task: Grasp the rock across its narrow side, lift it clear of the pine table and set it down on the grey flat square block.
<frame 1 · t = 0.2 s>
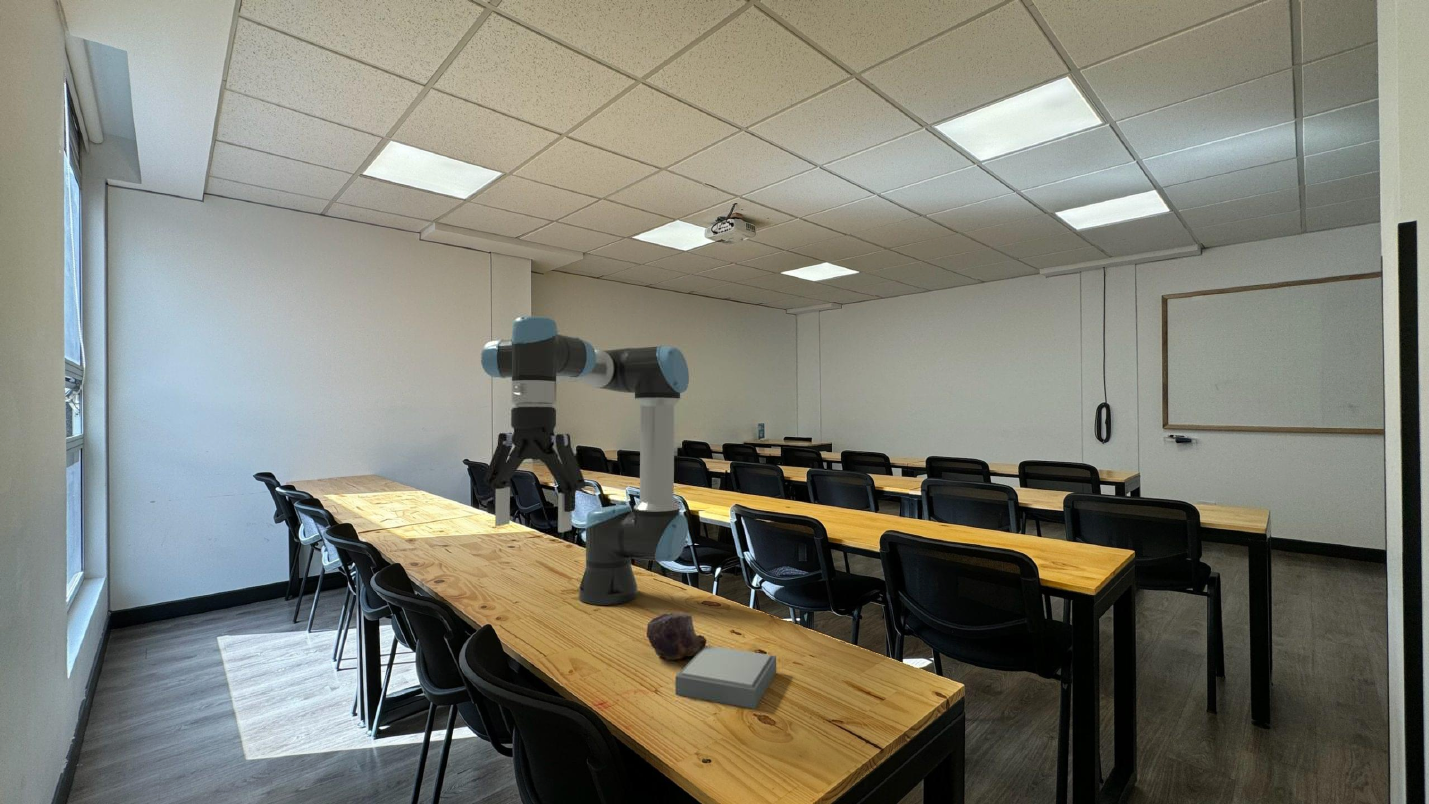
hand: (532, 527, 100), 28 cm above the table, fingers open, 13 cm apart
rock: (672, 657, 113), on the table
grey flat square block: (727, 682, 102), on the table
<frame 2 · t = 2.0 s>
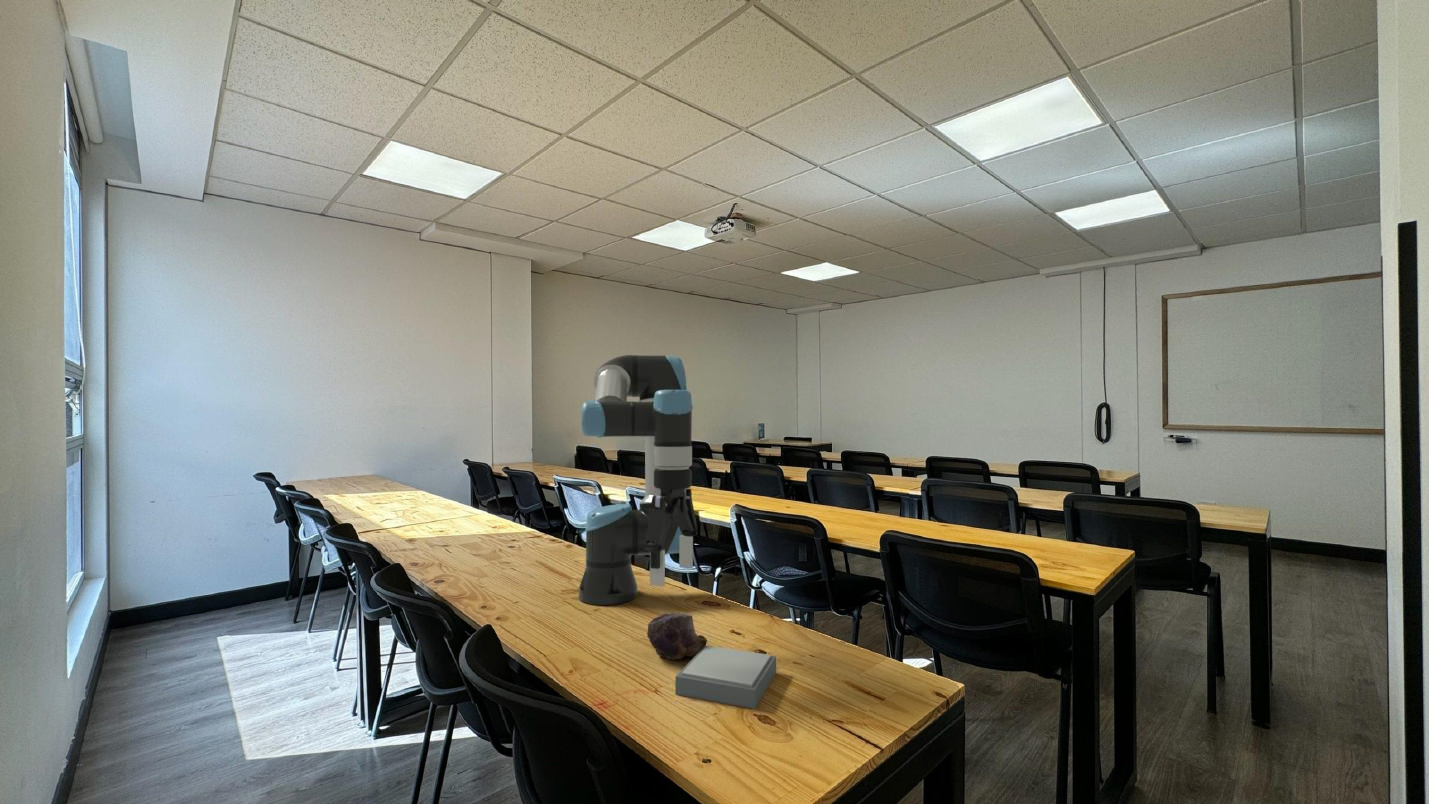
hand: (672, 576, 113), 16 cm above the table, fingers open, 13 cm apart
nothing on the table moved.
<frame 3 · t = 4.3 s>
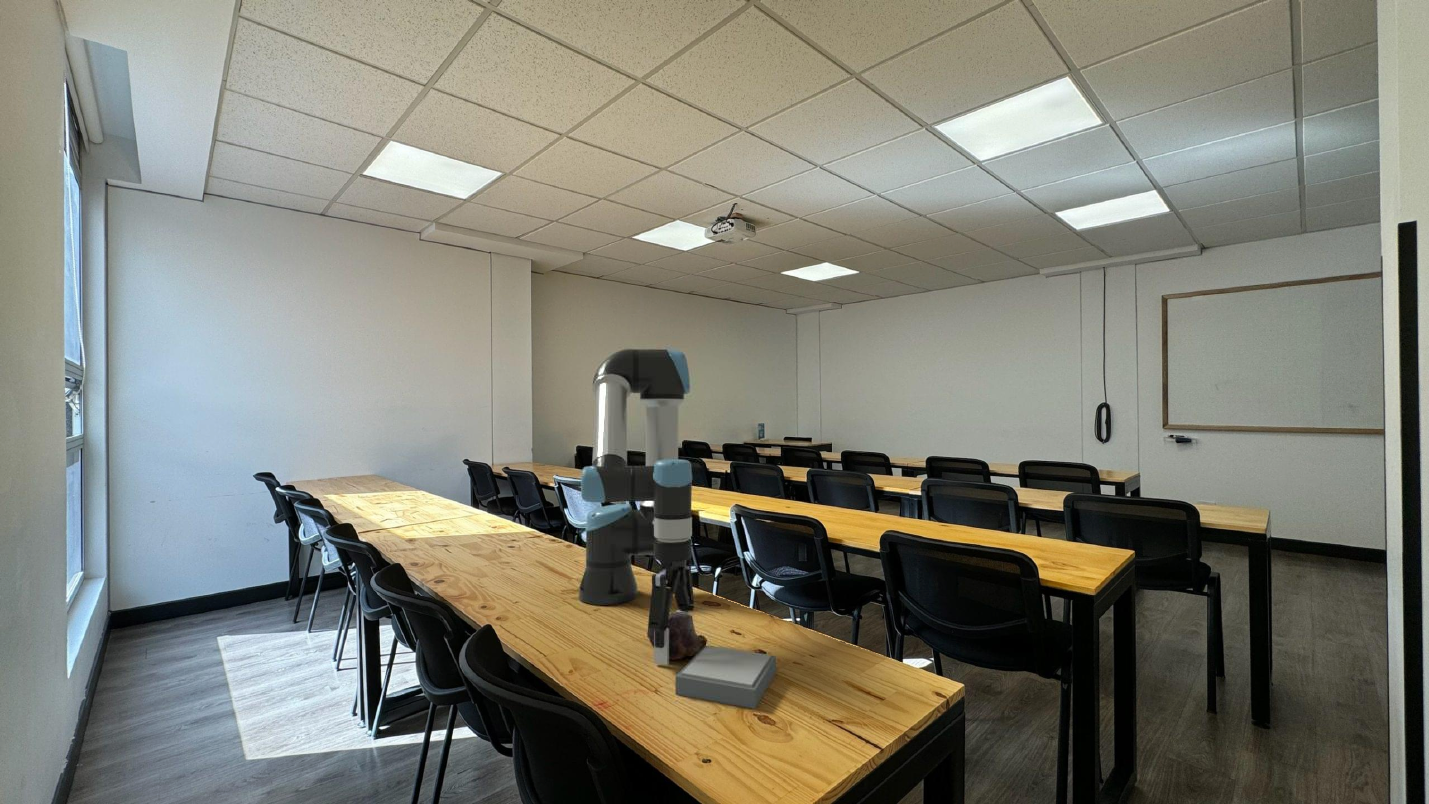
hand: (672, 652, 113), 1 cm above the table, fingers closed on rock, 9 cm apart
rock: (672, 657, 113), on the table, touching gripper
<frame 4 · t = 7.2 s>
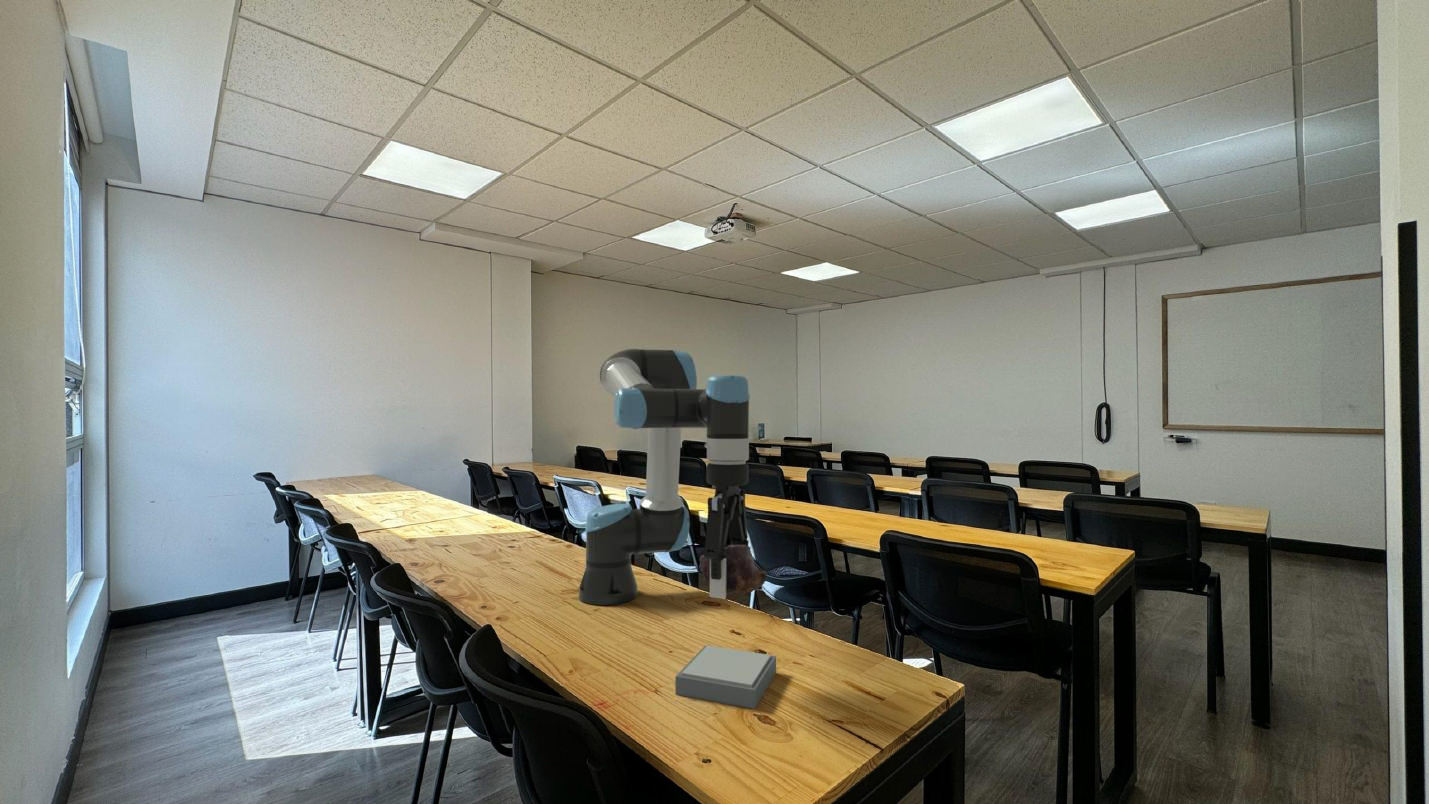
hand: (727, 588, 102), 17 cm above the table, fingers closed on rock, 9 cm apart
rock: (727, 593, 102), point 16 cm above the table, touching gripper
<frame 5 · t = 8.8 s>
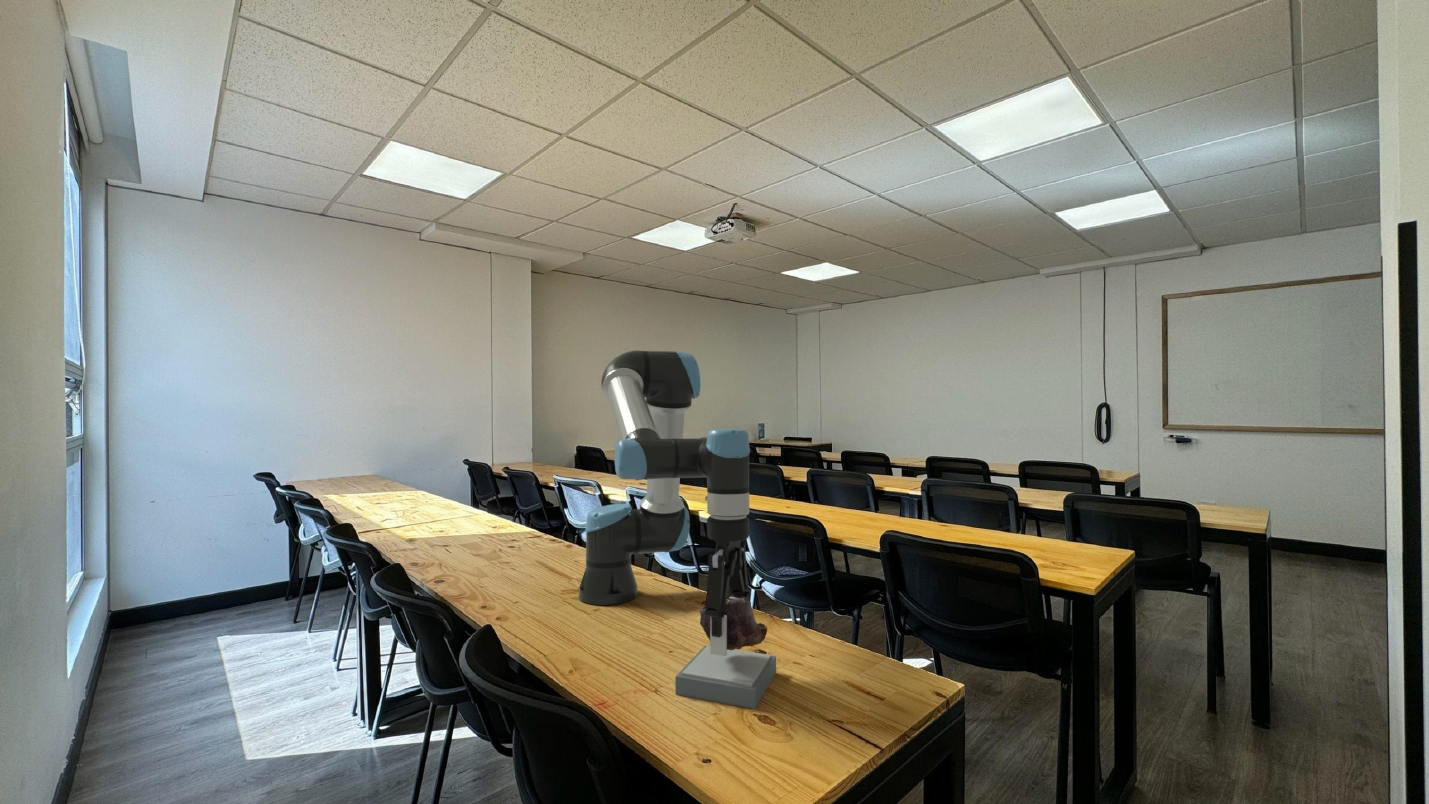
hand: (728, 643, 102), 7 cm above the table, fingers closed on rock, 9 cm apart
rock: (728, 647, 101), point 6 cm above the table, touching gripper
when the fingers open (5 cm above the table, at t = 10.1 s): rock drops 1 cm, resting on grey flat square block.
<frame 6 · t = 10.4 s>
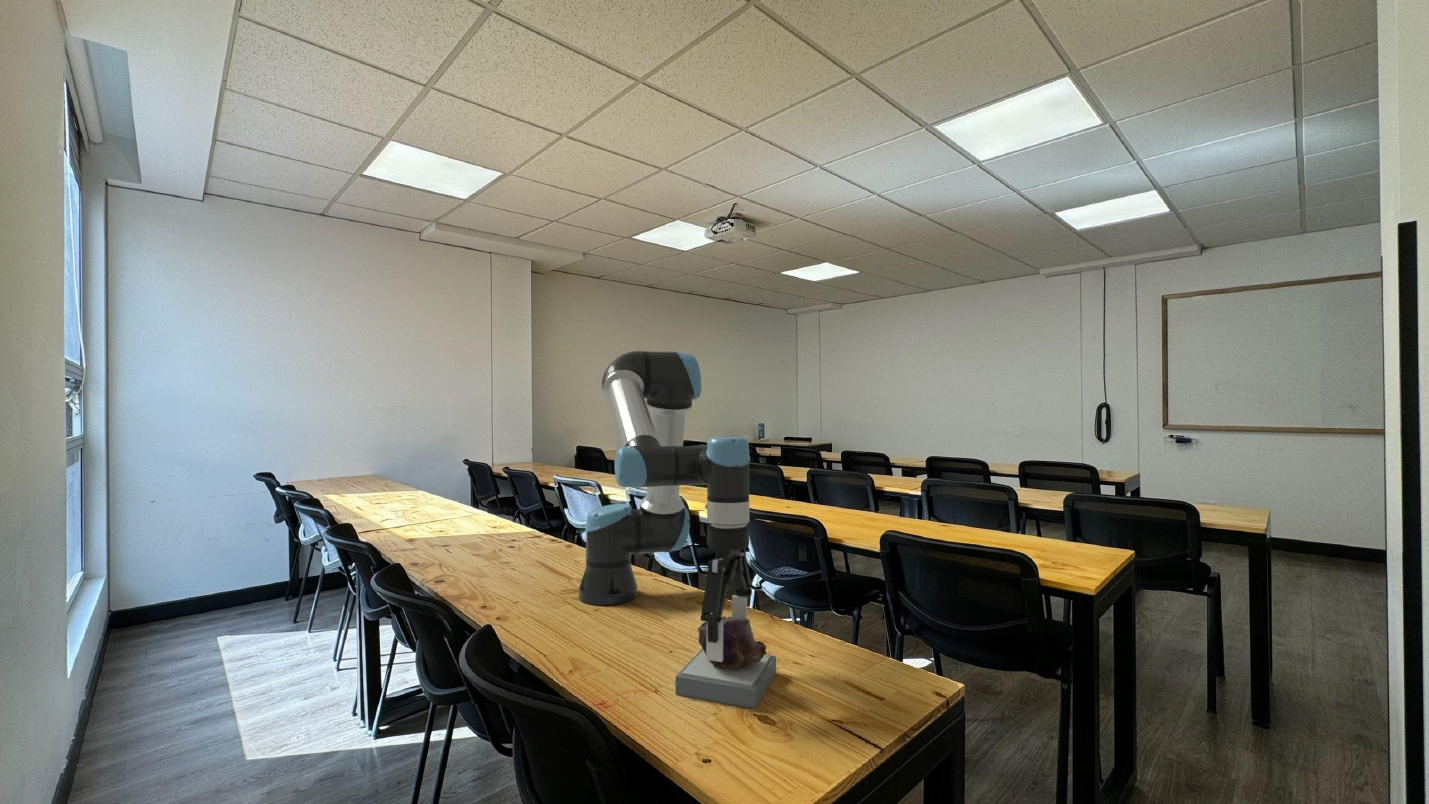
hand: (727, 645, 102), 7 cm above the table, fingers open, 13 cm apart
rock: (727, 665, 101), point 3 cm above the table, touching grey flat square block
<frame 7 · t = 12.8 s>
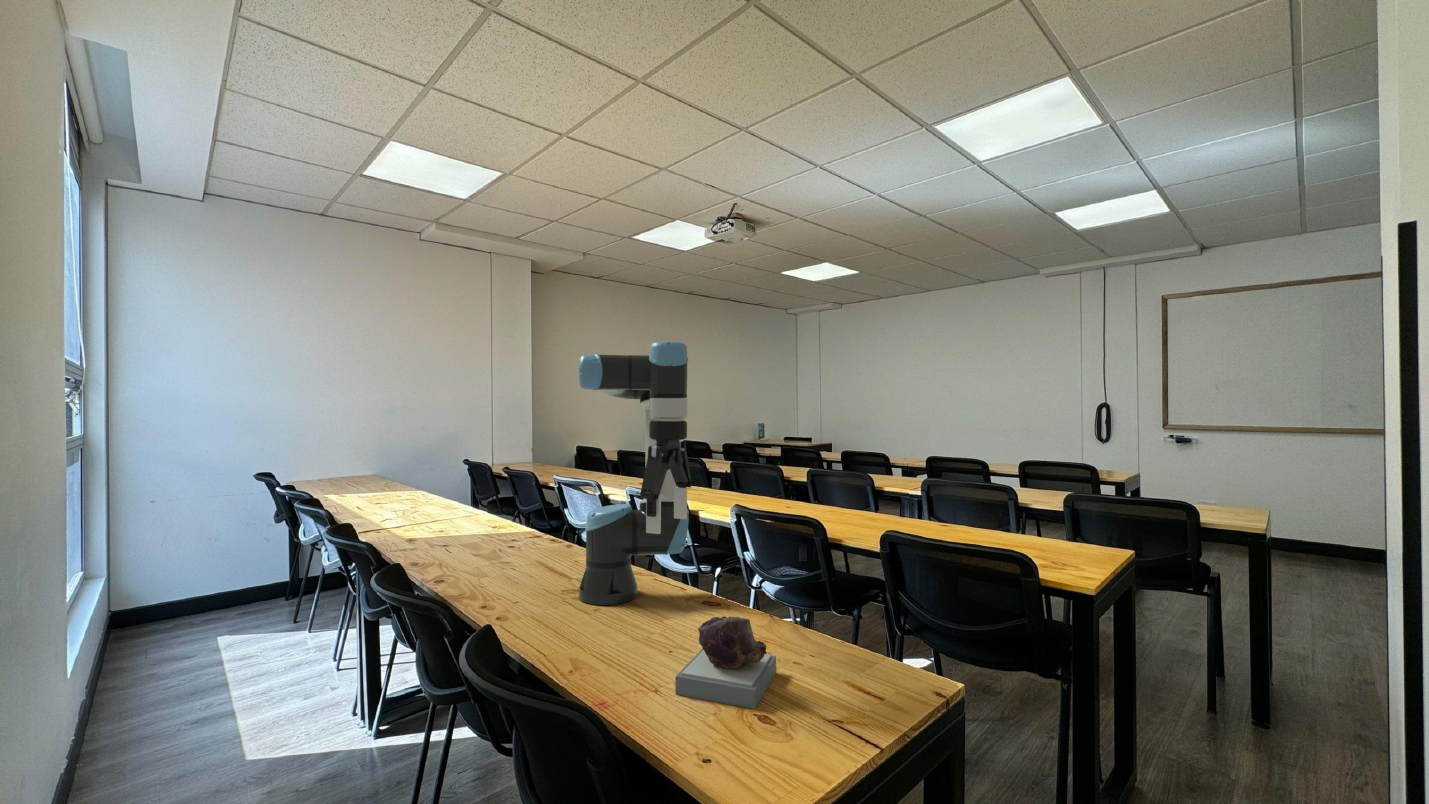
hand: (667, 525, 115), 25 cm above the table, fingers open, 13 cm apart
nothing on the table moved.
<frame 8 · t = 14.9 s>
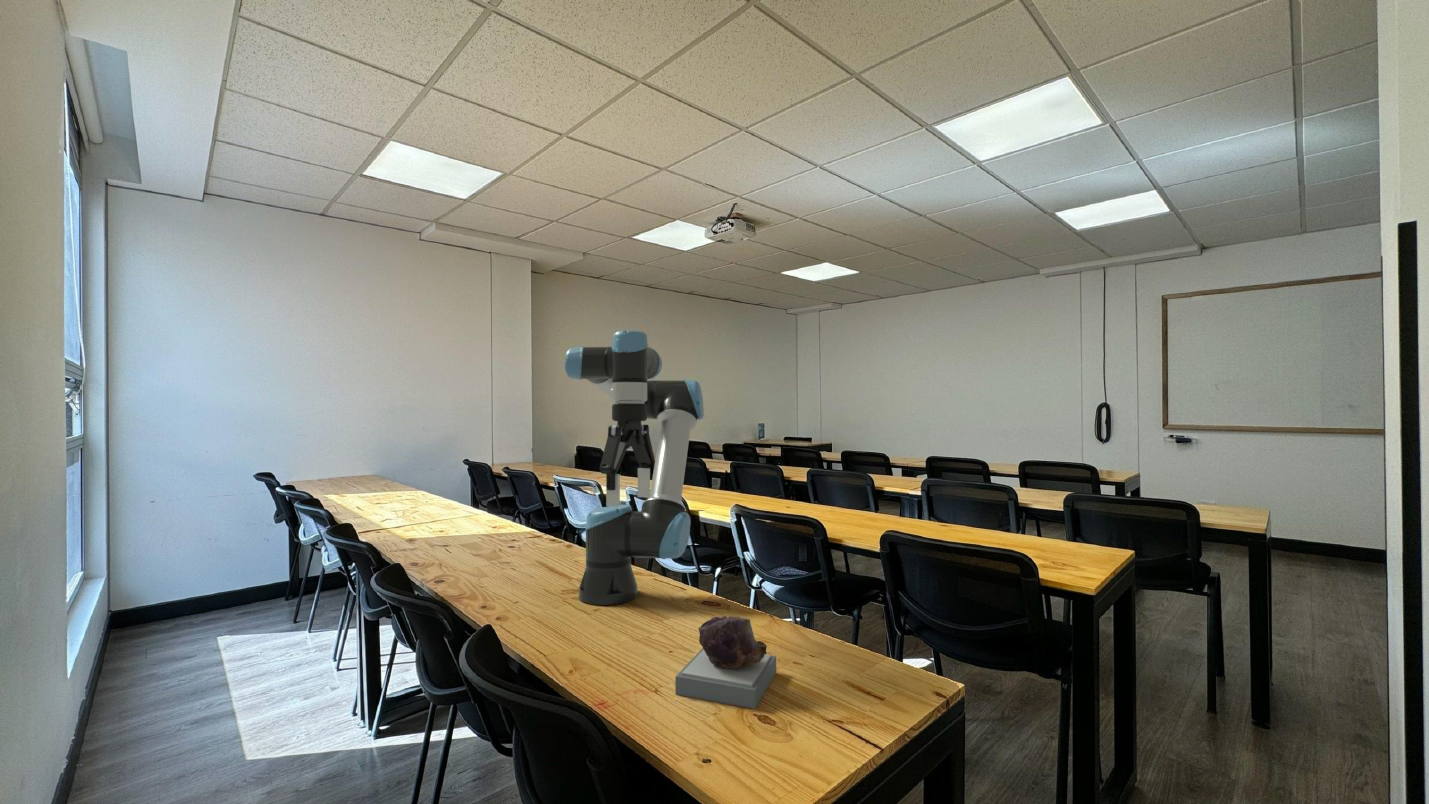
hand: (629, 501, 124), 29 cm above the table, fingers open, 13 cm apart
nothing on the table moved.
at the end: rock 0.3 cm from the grey flat square block (horizontally); rock point 3.2 cm above the table; the gripper is holding nothing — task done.
